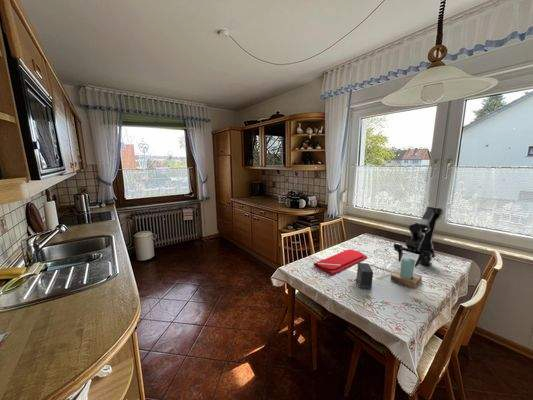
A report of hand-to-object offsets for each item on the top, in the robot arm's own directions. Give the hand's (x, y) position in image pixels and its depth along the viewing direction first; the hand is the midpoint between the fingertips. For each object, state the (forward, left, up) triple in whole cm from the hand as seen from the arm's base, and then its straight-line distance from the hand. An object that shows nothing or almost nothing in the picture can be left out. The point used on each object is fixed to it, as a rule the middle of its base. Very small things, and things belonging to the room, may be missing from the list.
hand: (406, 264), depth 127 cm
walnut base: (-1, 0, -11) cm, 11 cm away
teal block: (-1, 0, -8) cm, 8 cm away
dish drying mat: (+6, -37, -12) cm, 40 cm away
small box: (+21, -14, -11) cm, 27 cm away
